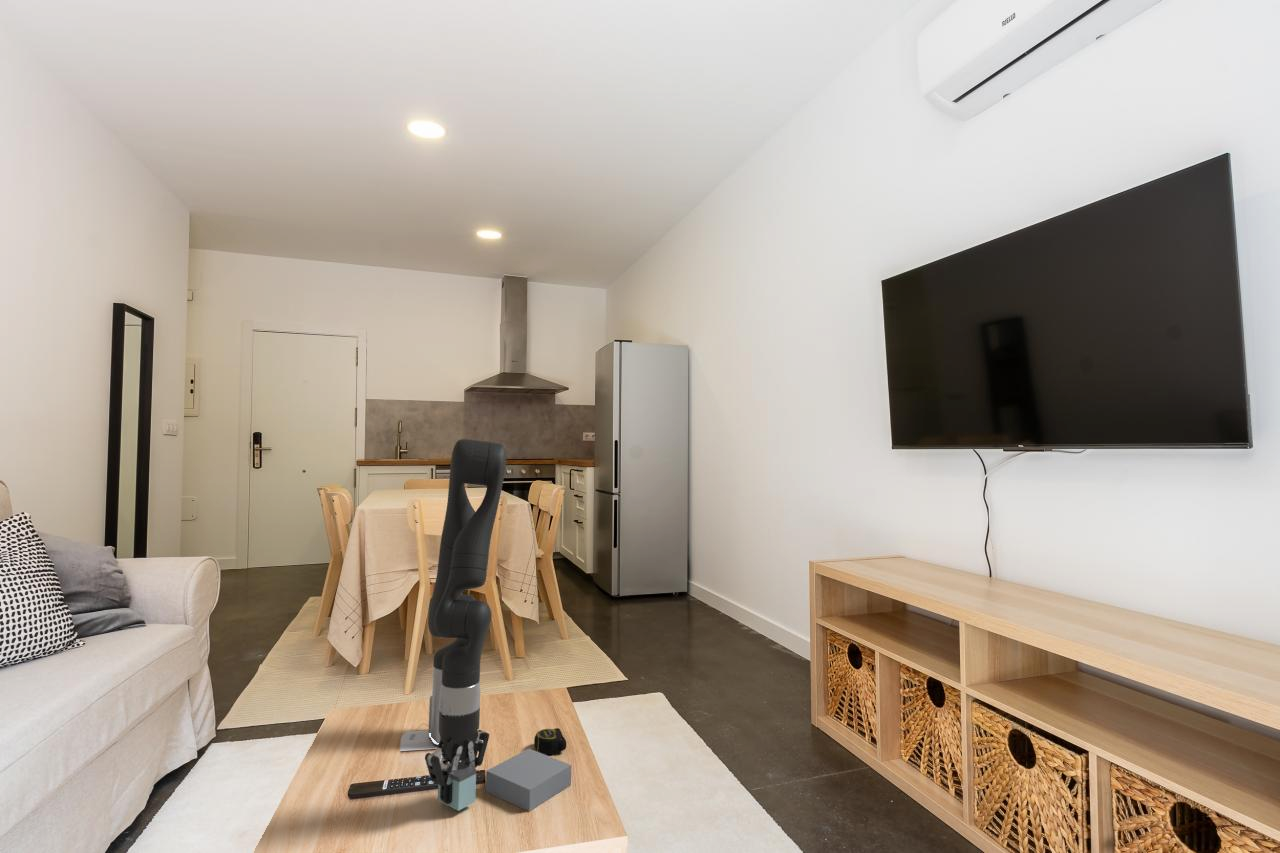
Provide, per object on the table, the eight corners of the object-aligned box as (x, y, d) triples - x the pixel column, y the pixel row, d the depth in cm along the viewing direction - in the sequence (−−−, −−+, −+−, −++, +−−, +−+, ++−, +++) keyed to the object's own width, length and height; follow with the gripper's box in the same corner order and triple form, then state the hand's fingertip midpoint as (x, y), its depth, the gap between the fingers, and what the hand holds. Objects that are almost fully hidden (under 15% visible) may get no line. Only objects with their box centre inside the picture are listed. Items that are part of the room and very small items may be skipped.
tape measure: (566, 755, 142) (567, 738, 143) (536, 759, 140) (536, 741, 140) (561, 741, 149) (561, 725, 149) (531, 745, 147) (532, 728, 147)
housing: (437, 800, 121) (438, 767, 121) (454, 791, 124) (455, 759, 124) (458, 810, 117) (459, 777, 118) (475, 801, 121) (476, 769, 121)
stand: (485, 791, 126) (486, 770, 126) (528, 767, 136) (528, 748, 136) (529, 811, 119) (530, 789, 120) (570, 785, 129) (571, 765, 130)
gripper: (475, 689, 129) (472, 775, 129) (415, 712, 118) (412, 806, 117) (501, 699, 125) (498, 787, 124) (441, 723, 113) (438, 821, 113)
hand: (456, 796), depth 121 cm, fingers closed on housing, 4 cm apart
